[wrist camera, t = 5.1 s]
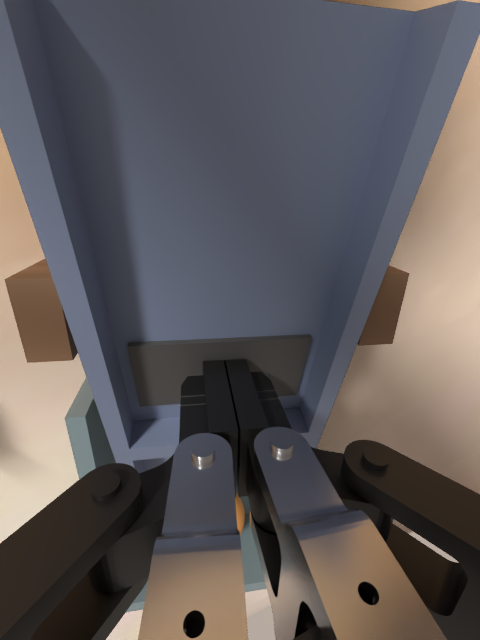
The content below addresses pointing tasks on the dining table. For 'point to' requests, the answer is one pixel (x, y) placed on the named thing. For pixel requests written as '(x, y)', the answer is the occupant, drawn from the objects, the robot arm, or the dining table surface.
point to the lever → (221, 184)
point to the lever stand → (58, 344)
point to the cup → (97, 452)
